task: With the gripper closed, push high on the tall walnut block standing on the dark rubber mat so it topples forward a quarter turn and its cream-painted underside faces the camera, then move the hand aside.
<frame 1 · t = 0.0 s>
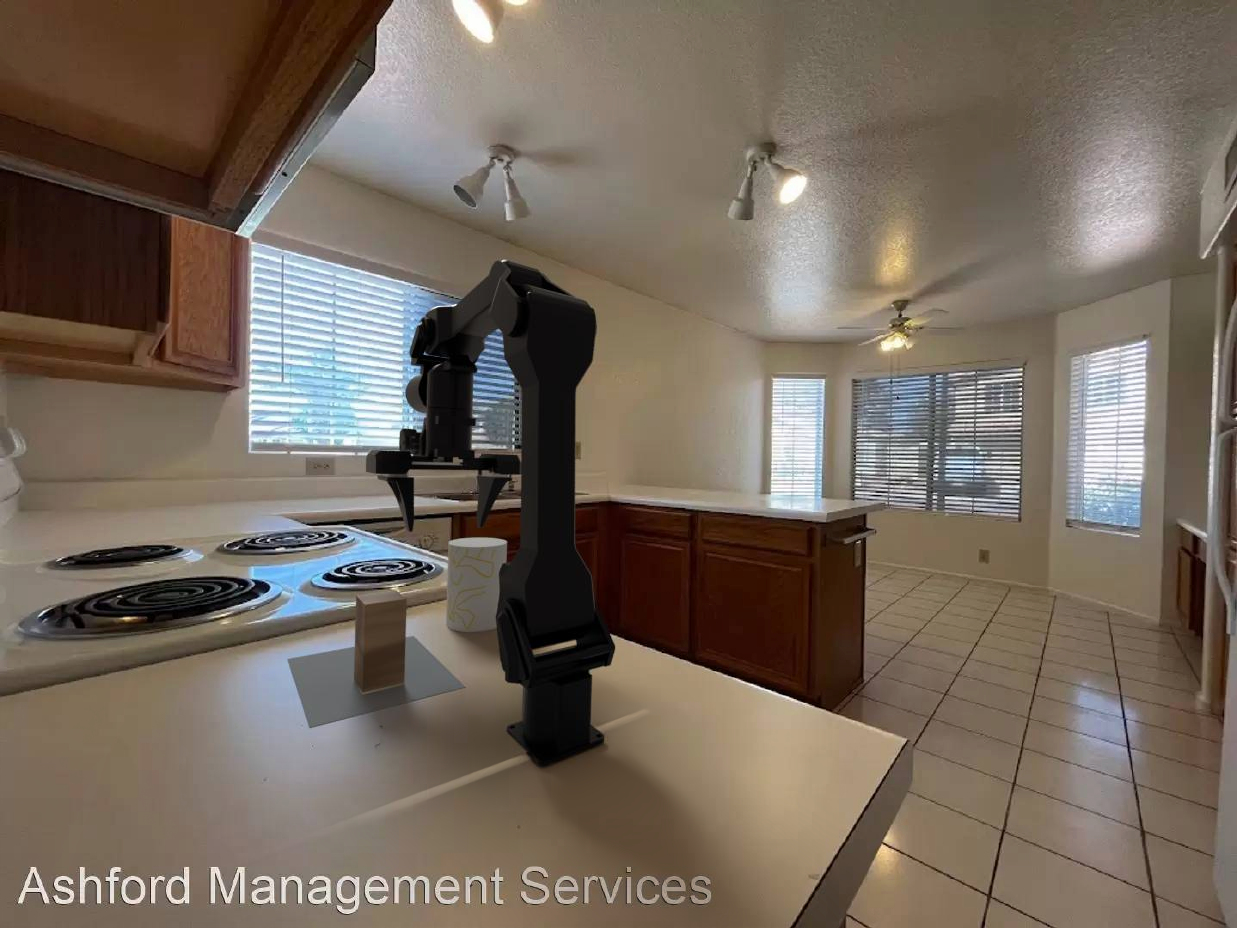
hand: (446, 529, 67), 15 cm above the countertop, fingers open, 9 cm apart
cup: (475, 626, 74), on the countertop
mat: (372, 675, 56), on the countertop
walnut block: (378, 682, 53), resting on mat
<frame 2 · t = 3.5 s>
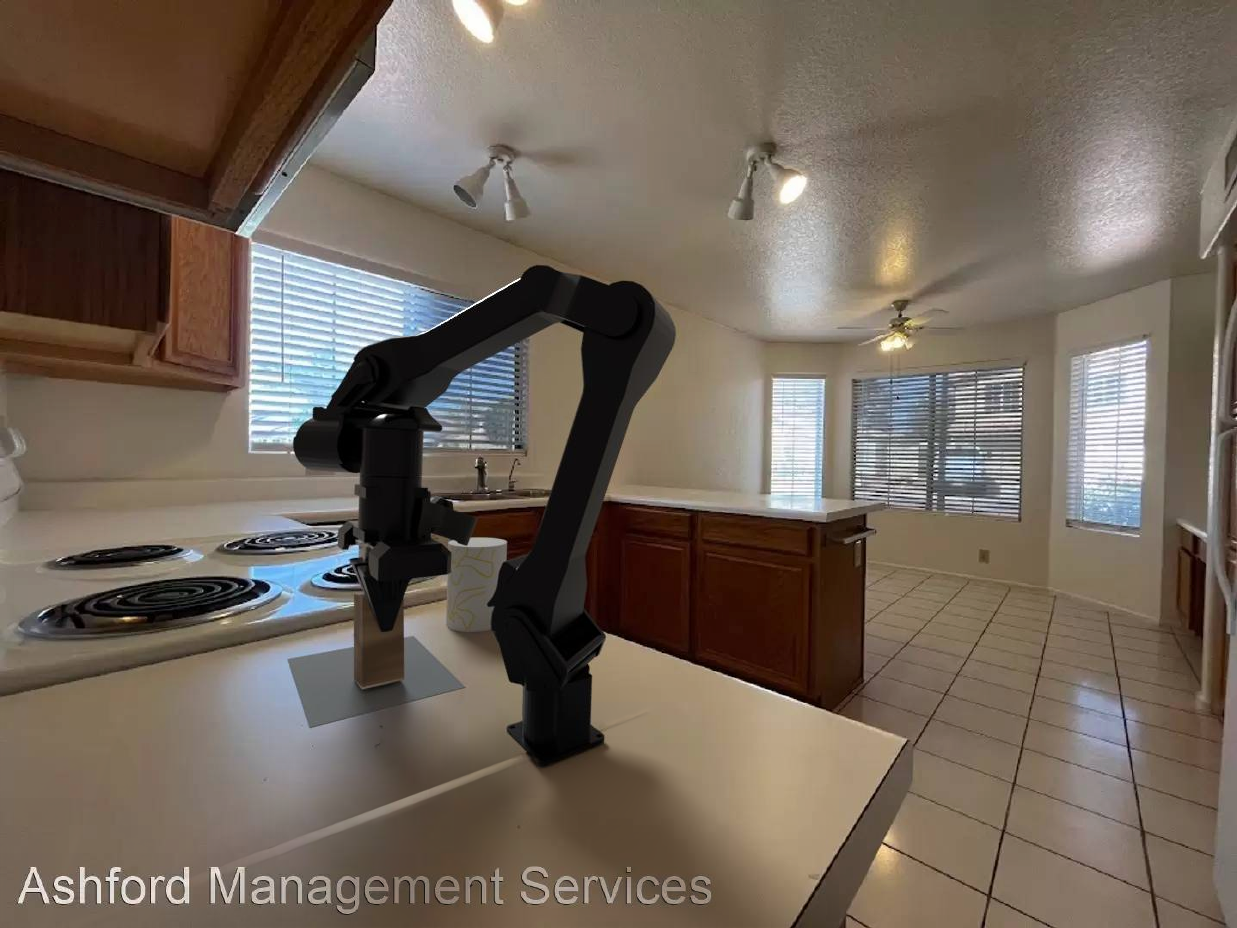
hand: (386, 630, 51), 7 cm above the countertop, fingers closed
walnut block: (378, 679, 53), point 1 cm above the countertop, tilted 7°, touching gripper, mat
everything else where it was.
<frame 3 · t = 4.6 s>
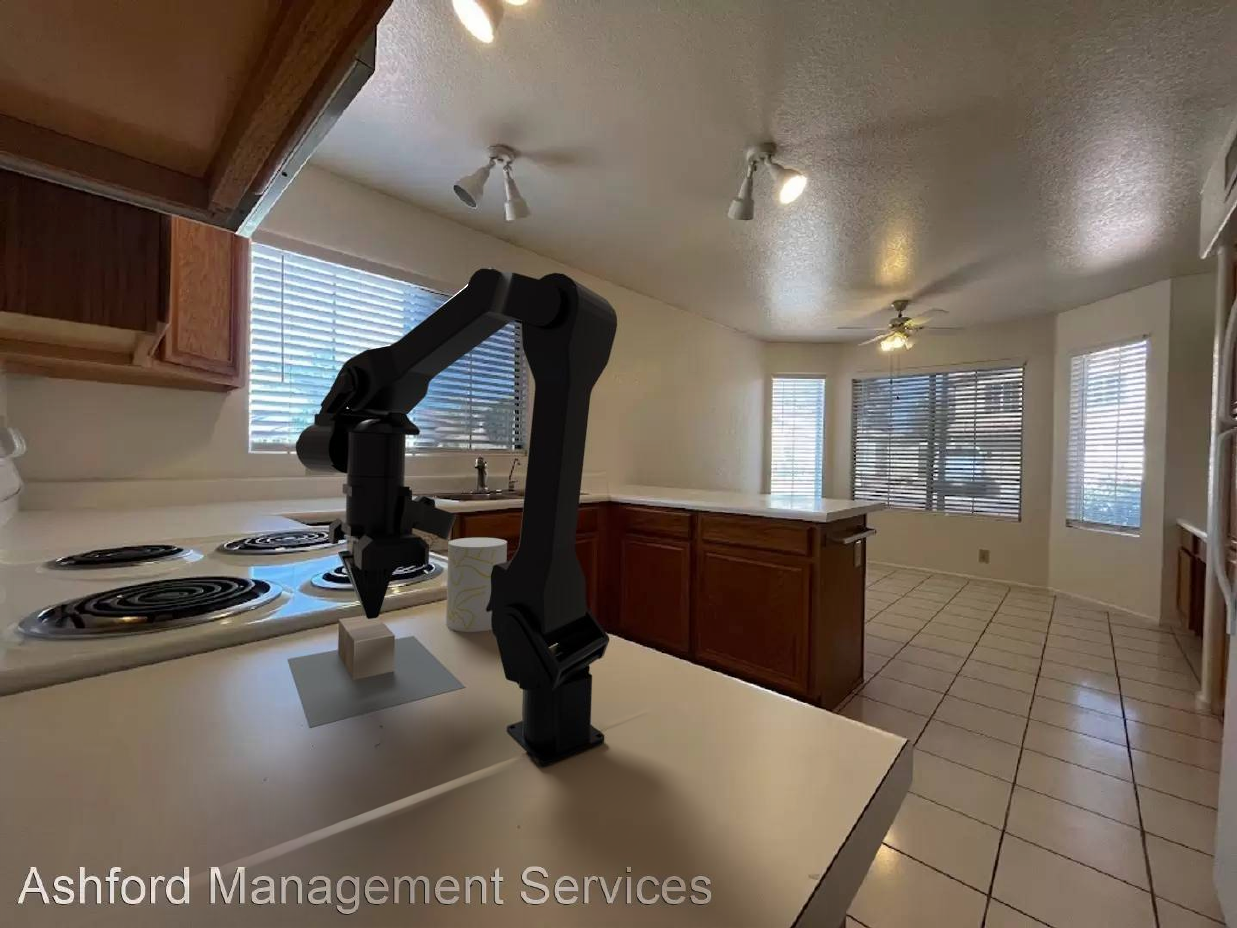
hand: (372, 617, 56), 6 cm above the countertop, fingers closed
walnut block: (374, 656, 55), point 2 cm above the countertop, tilted 90°, touching mat
everything else where it was.
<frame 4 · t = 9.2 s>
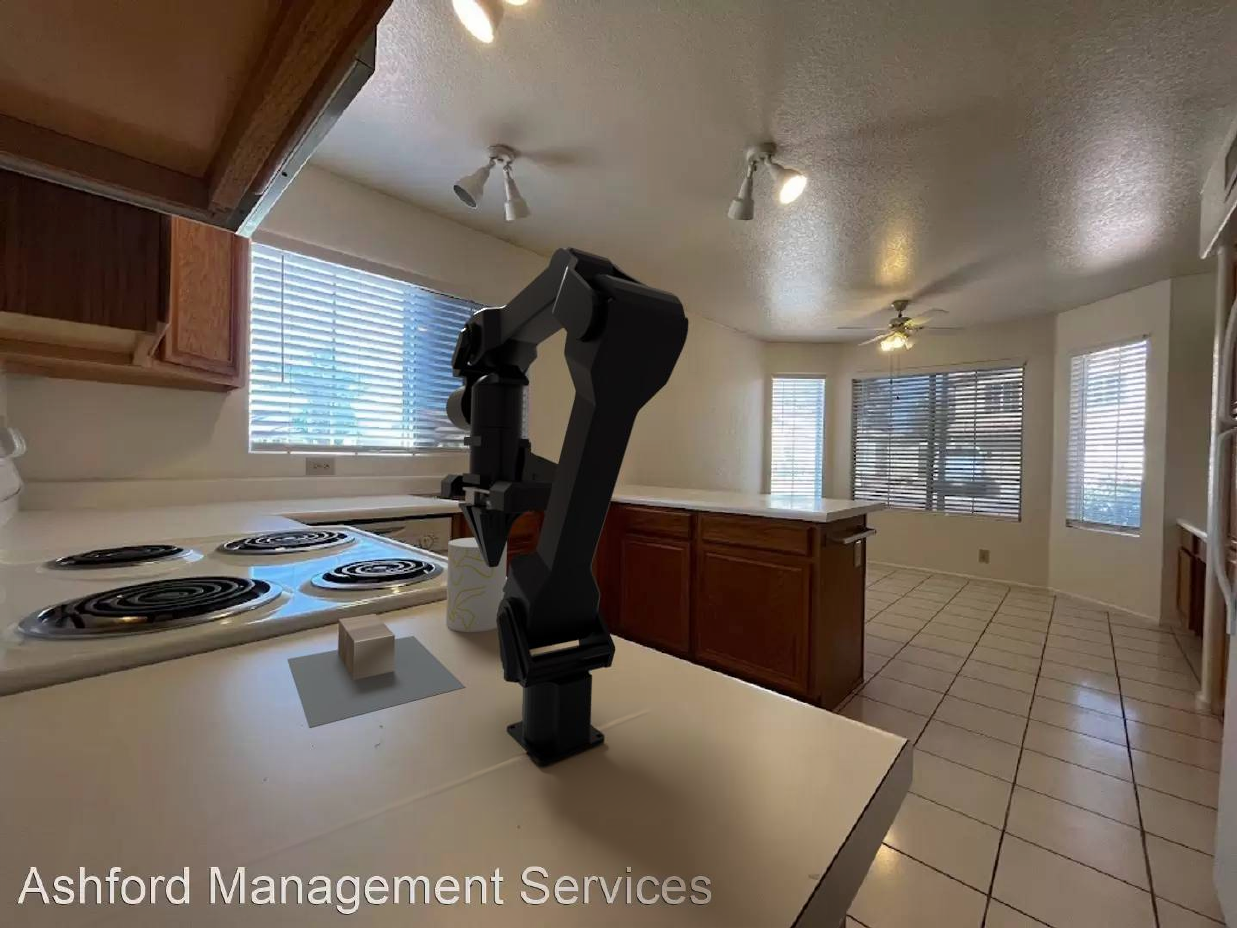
hand: (492, 566, 58), 12 cm above the countertop, fingers closed
nothing on the countertop moved.
at the end: walnut block tilted 90°; walnut block inside the target area (4.0 cm from its centre), point 2.4 cm above the countertop; cup moved 0.2 cm from its start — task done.
